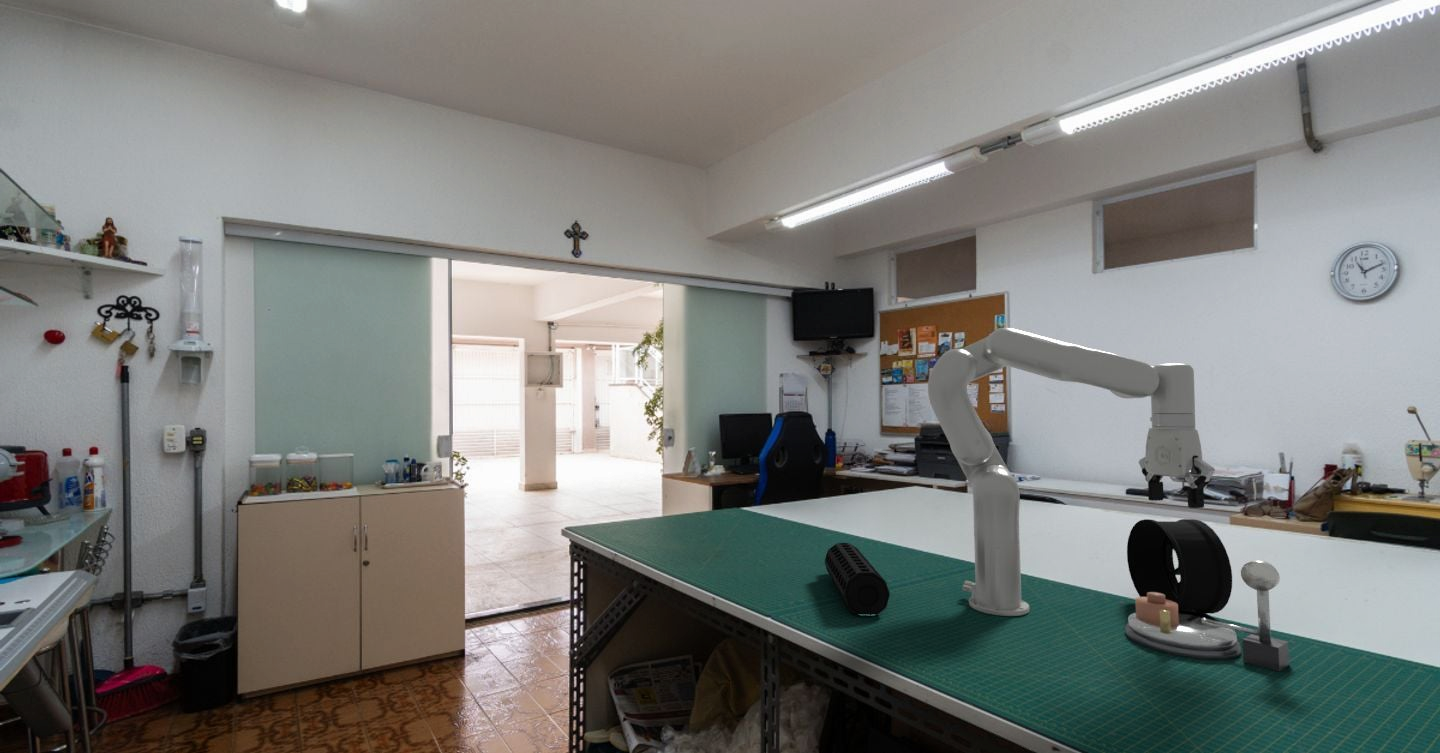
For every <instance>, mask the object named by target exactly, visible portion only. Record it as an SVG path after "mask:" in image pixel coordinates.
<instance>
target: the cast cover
mask: <svg viewBox="0 0 1440 753" xmlns="http://www.w3.org/2000/svg"><path fill="white" fill-rule="evenodd" d="M1134 599H1135V601H1134V602H1135V613H1136V618H1137V619H1139V620H1141V621H1143V622H1146V623H1150V624H1155V625H1160V610H1161V609H1163V610H1168V611H1170V626H1174V625H1178V624H1179V618H1178V613H1179V611H1178V604H1177V603H1175V602H1173V601H1170V600H1167V599H1165V595H1164V594H1161V593H1156V592H1148V593H1147V597H1140V596H1137V597H1136V598H1134Z"/></svg>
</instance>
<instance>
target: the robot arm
mask: <svg viewBox="0 0 1440 753" xmlns="http://www.w3.org/2000/svg"><path fill="white" fill-rule="evenodd" d="M1006 367H1011V368H1014V369H1017V370H1021V371H1024V372H1028V373H1031V374H1034V375H1039V376H1041V377H1045V378H1047V379H1051V380H1055V381H1060V382H1066V383H1067V382H1071V383H1077V384H1078V383H1079V384H1083V385H1084V384H1085V385H1090V386H1094V387H1098V388H1101V389H1104V390H1108V391H1109V392H1111V393H1112V394H1113V395H1115V396H1116V397H1119V398H1122V399H1142V398H1146V397H1150V403H1151V410H1150V411H1151V412H1150V413H1151V416H1150V419H1149V420H1150V422H1151V427H1150V428H1148V432H1147V434H1146V435H1147V436H1146V442H1145V453H1144V454H1145V455H1144V457H1142V458H1140V459H1139V460H1138V464H1139V467H1140V469H1141V473H1142V474H1143V476H1144V479H1145V481H1146V482H1147V490H1148V494H1147V496H1148V500H1149V501H1153V502H1155V501H1163V500H1164V482H1163V481H1161V480H1162V479H1163V478H1164V477H1170V478H1184V479H1185V481H1186V482H1187V483H1188V485H1189V487H1187V507H1188V508H1190V509H1203V508H1205V490H1204V489H1207V487H1208V485H1209V483H1210V482H1211V481H1212V477H1213V475H1214V473H1215V470H1216V469H1215V468H1214V467H1213V466H1212V465H1210V464H1208V463H1207V462H1206V461H1204V459H1203V453H1202V444H1201V438H1200V435H1199V431H1198V429H1196V401H1195V400H1196V399H1195V372H1194V368H1193V366H1192V365H1190V364H1189V363H1161V364H1156V365H1154V366H1152V365H1150V364H1149V363H1147V362H1145V361H1140V360H1137V359H1134V358H1131V357H1130V358H1129V357H1126V356H1122V355H1118V354H1115V353H1111V352H1106V351H1102V350H1099V349H1095V348H1094V349H1093V348H1088V347H1085V346H1081V345H1079V344H1073V343H1068V342H1064V341H1061V340H1056V339H1053V338H1050V337H1046V336H1041V335H1038V334H1035V333H1031V332H1028V331H1023V330H1019V329H1016V328H1011V327H1001V328H997V329H995V330H994V331H993V332H991V333H990V334H989V335H988V336H986V337H985V338H981V339H980V340H978V341H976V342H973V343H971V344H969V345H967V346H964V347H962V348H952V349H949V350H947V351H945V352H944V353H943V354H942V355H941V356H940V357H939V358H938V360H937V361H936V362H935V364H934V366H933V367H932V369H931V371H930V374H929V378H928V383H927V393H928V400H929V402H930V405H931V408H932V410H933V413H934V414H935V417H936V419H937V421H938V422H939V425H940V427H941V429H942V430H943V433H944V435H945V437H946V440H947V441H948V443H949V446H950V449H951V452H952V454H953V456H954V457H955V459H956V461H957V463H958V464H959V466H960V468H961V470H962V472H963V474H964V476H965V477H966V479H967V481H968V484H969V485H970V487H971V489H972V497H973V498H972V502H973V536H974V537H973V538H974V539H973V540H974V574H975V575H974V576H975V580H974V581H975V582H973V581H970V580H965V581H963V585H962V587H961V589H962V591H964V592H968V593H970V594H971V597H970V598H969V599H968V605H969V607H971V609H973V610H975V611H977V612H981V613H984V614H988V615H993V616H1001V617H1002V616H1003V617H1018V616H1019V617H1020V616H1024V615H1027V614H1028V613H1029V612H1030V604H1029V603H1028V602H1027V601H1024V600H1022V581H1021V580H1022V579H1021V578H1022V576H1021V575H1022V574H1021V573H1022V572H1021V545H1020V544H1021V543H1020V539H1021V538H1020V496H1021V494H1020V487H1019V484H1018V481H1017V479H1016V478H1015V477H1014V475H1013V474H1012V473H1011V472H1010V470H1009V469H1008V467H1007V465H1006V462H1004V460H1003V457H1002V456H1001V454H1000V452H999V450H998V448H997V447H996V444H995V443H994V440H993V437H992V435H991V433H990V432H989V431H988V430H987V429H986V427H985V425H984V423H983V422H982V420H981V418H980V417H979V414H978V412H977V411H976V409H975V406H974V404H973V403H972V401H971V399H970V397H969V394H968V384H969V383H972V382H973V381H976V380H978V379H980V378H983V377H986V376H987V375H990V374H993V373H994V372H997V371H999V370H1002V369H1004V368H1006Z"/></svg>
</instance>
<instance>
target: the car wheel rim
mask: <svg viewBox="0 0 1440 753" xmlns="http://www.w3.org/2000/svg"><path fill="white" fill-rule="evenodd" d="M1173 551H1174V552H1175V554H1176V557H1177V567H1175V564H1174V554H1173V553H1174V552H1173ZM1126 558H1127V565H1128V566H1127V567H1128V571H1129V575H1130V578H1131V581H1132V584H1133V587H1134V588H1135V591H1136V592H1137V593H1138V597H1147V593H1148V592H1156V593H1161V594H1164V595H1165V599H1167V600H1170V601H1173V602H1175V603H1177V604H1178V612H1179V611H1184V612H1185V611H1187V612H1188V611H1189V612H1194V613H1196V614H1197V613H1198V614H1217V613H1219V612H1221V611H1222V610H1223V609H1224V608H1225V607H1226V606H1227V604H1228V603H1229V600H1230V598H1231V595H1232V589H1233V573H1232V572H1233V571H1232V566H1231V562H1230V558H1229V555H1228V552H1227V549H1226V547H1225V545H1224V543H1223V541H1222V540H1221V538H1220V536H1219V535H1218V534H1217V533H1216V532H1215V531H1214V529H1213V528H1212V527H1211V526H1209V525H1208V524H1207V523H1205V522H1204V521H1201V520H1198V519H1194V518H1192V519H1191V518H1190V519H1189V518H1188V519H1186V518H1184V519H1182V518H1181V519H1178V520H1176V521H1169V520H1168V521H1161V520H1160V521H1157V520H1155V519H1146V518H1145V519H1141V520H1138V521H1137V522H1136V523H1135V524H1134V525H1133V526H1132V528H1131V530H1130V532H1129V535H1128V538H1127V546H1126ZM1177 576H1180V578H1179V580H1180V581H1178V579H1177V578H1178V577H1177Z"/></svg>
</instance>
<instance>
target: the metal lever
mask: <svg viewBox="0 0 1440 753" xmlns="http://www.w3.org/2000/svg"><path fill="white" fill-rule="evenodd" d="M1240 577H1241V579H1242V580H1243V582H1244V584H1245V585H1247V586H1248V587H1249V588H1251V589H1253V590H1256V598H1257V599H1256V602H1257V621H1258V624H1257V625H1258V630H1256V629H1252V628H1248V627H1244V626H1241V625H1240V626H1238V625H1236V624H1235V625H1234V624H1231V623H1225V622H1221V621H1218V620H1217V621H1216V620H1213V619H1210V618H1206V617H1201V618H1202V619H1201V621H1202V623H1207V624H1211V625H1216V626H1220V627H1224V628H1229V629H1232V630H1234V631H1238V632H1243V633H1246V634H1249V635H1247V636H1245V637H1244V638H1242V639H1241V640H1242V661H1243V663H1245V664H1249V665H1253V666H1257V667H1261V668H1263V669H1268V670H1272V671H1276V672H1279V673H1280V672H1281V671H1283V669H1286V668H1287V667H1288V666H1289V665H1290V658H1289V657H1290V656H1289V654H1290V653H1289V651H1290V650H1289V641H1287V640H1283V639H1278V638H1274V637H1272V635H1271V634H1272V633H1271V631H1272V630H1271V615H1270V614H1271V613H1270V611H1271V610H1270V592H1269V591H1270V590H1272V589H1274V588H1276V587H1277V586H1278V585H1279V583H1280V580H1281V578H1280V577H1281V576H1280V573H1279V572H1278V570H1277V568H1276V567H1275V566H1274V565H1272V564H1271V563H1269V562H1267V561H1263V560H1259V559H1257V560H1251V561H1249V562H1247V563H1245V564H1243V566H1242V567H1241V569H1240Z"/></svg>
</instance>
